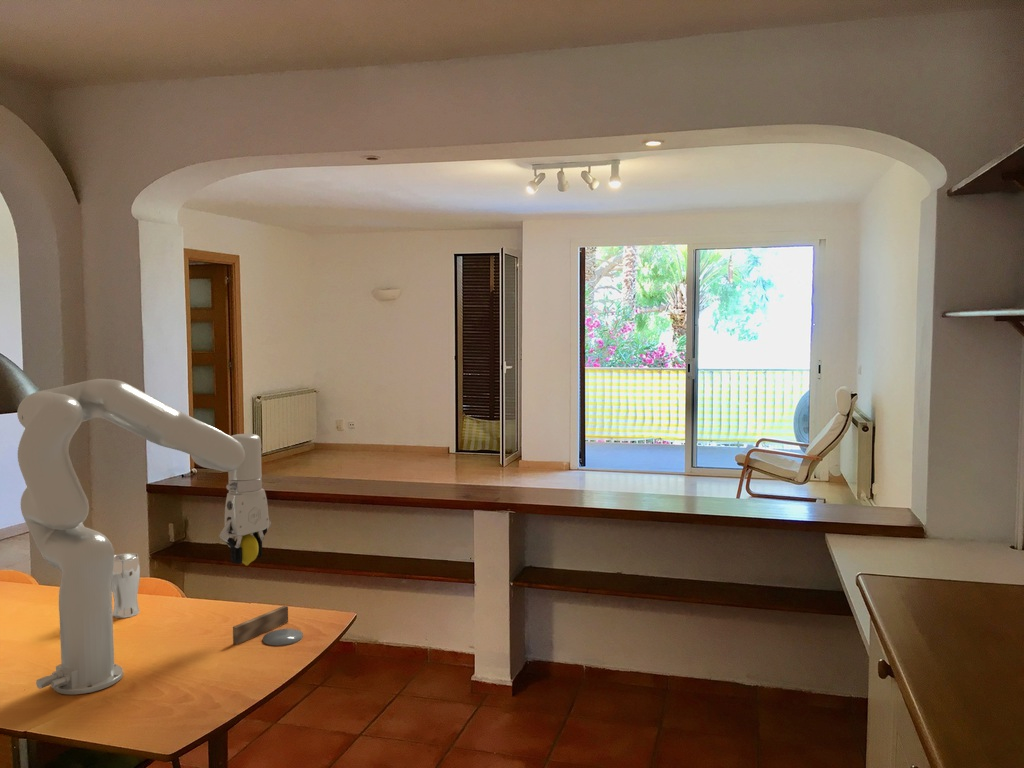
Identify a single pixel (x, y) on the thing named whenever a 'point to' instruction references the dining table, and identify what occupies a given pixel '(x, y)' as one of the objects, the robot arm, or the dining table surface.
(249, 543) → the lemon
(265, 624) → the walnut wall
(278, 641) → the coaster
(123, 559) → the beer glass
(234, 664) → the dining table surface
